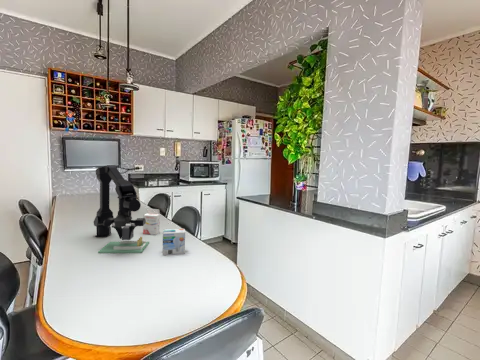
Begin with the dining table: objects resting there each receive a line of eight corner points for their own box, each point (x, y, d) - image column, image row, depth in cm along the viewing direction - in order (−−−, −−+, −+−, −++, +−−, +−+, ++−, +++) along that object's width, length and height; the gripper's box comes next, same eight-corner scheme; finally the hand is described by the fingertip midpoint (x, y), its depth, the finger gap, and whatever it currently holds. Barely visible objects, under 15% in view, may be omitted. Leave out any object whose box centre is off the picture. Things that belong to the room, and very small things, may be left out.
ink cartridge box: (142, 234, 148) (142, 210, 147) (146, 231, 153) (146, 208, 152) (156, 235, 148) (156, 210, 146) (160, 232, 153) (160, 209, 151)
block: (121, 228, 126) (125, 225, 131) (121, 239, 126) (125, 236, 132) (129, 228, 126) (133, 225, 132) (130, 239, 127) (133, 236, 132)
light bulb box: (162, 255, 118) (162, 233, 117) (162, 250, 124) (162, 229, 124) (185, 253, 121) (185, 232, 120) (184, 248, 127) (184, 228, 126)
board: (98, 253, 118) (98, 243, 118) (110, 243, 132) (110, 234, 131) (141, 252, 120) (141, 243, 120) (149, 242, 134) (149, 234, 134)
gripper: (97, 211, 115) (98, 244, 117) (139, 212, 117) (139, 244, 119) (108, 206, 126) (108, 236, 128) (146, 207, 128) (146, 236, 130)
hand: (125, 238), depth 126 cm, fingers closed on block, 4 cm apart
